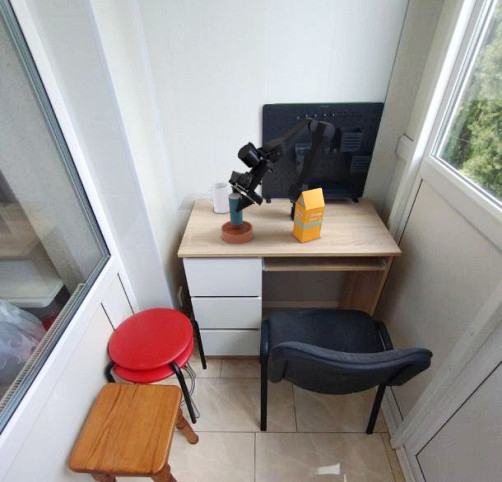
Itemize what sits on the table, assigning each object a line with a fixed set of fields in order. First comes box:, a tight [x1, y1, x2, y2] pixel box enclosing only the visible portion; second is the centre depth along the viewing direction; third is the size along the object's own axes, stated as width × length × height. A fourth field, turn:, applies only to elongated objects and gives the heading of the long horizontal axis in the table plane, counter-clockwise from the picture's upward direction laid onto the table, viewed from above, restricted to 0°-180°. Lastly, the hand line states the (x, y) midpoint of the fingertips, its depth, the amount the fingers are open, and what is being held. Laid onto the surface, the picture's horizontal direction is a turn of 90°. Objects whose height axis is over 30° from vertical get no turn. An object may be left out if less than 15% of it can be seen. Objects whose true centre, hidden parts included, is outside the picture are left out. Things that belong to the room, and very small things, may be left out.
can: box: [229, 192, 244, 225], centre depth 113 cm, size 5×5×12 cm
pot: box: [220, 219, 254, 245], centre depth 121 cm, size 13×13×4 cm
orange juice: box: [292, 187, 326, 243], centre depth 115 cm, size 8×9×20 cm
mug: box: [204, 181, 230, 214], centre depth 137 cm, size 12×8×12 cm
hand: (232, 209), depth 113 cm, fingers closed on can, 5 cm apart
